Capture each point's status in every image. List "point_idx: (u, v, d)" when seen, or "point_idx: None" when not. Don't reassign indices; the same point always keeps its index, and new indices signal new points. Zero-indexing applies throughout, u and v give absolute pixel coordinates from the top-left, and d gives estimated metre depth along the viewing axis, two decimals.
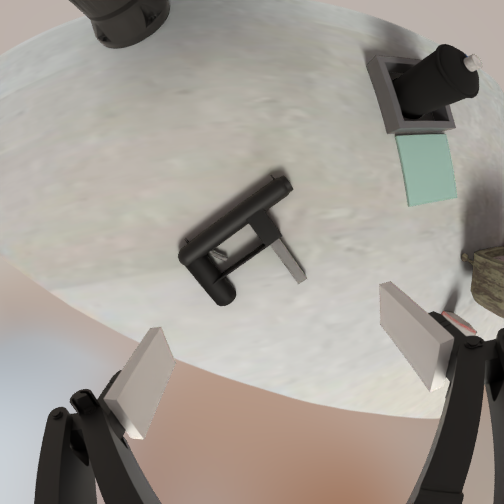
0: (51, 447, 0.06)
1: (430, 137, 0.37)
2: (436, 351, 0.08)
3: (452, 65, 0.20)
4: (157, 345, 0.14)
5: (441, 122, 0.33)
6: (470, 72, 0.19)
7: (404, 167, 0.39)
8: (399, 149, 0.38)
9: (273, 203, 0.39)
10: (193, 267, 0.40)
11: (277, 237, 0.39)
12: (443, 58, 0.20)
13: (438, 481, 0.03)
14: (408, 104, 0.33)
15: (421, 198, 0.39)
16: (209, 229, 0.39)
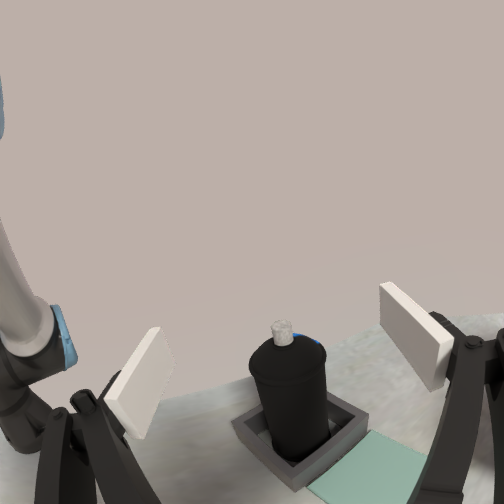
0: (51, 447, 0.06)
1: (354, 451, 0.26)
2: (436, 351, 0.08)
3: (265, 361, 0.25)
4: (157, 345, 0.14)
5: (346, 427, 0.27)
6: (290, 346, 0.26)
7: None
8: (320, 497, 0.21)
9: None
10: None
11: None
12: (255, 364, 0.26)
13: (438, 480, 0.03)
14: (292, 445, 0.26)
15: None
16: None
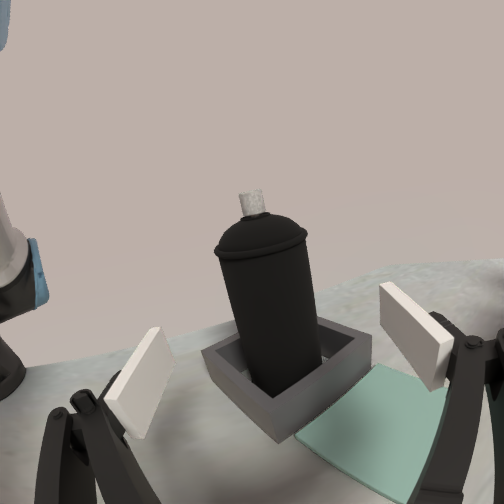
0: (51, 447, 0.06)
1: (357, 389, 0.23)
2: (436, 351, 0.08)
3: (231, 233, 0.22)
4: (157, 345, 0.14)
5: (343, 350, 0.23)
6: (261, 216, 0.22)
7: (342, 465, 0.15)
8: (313, 448, 0.17)
9: None
10: None
11: None
12: (220, 241, 0.23)
13: (439, 480, 0.03)
14: (273, 373, 0.23)
15: (418, 473, 0.11)
16: None
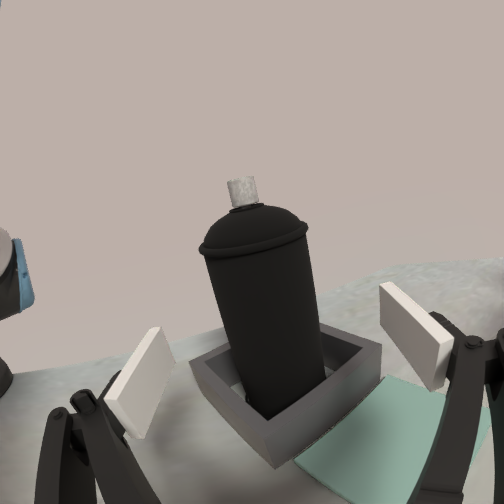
0: (51, 447, 0.06)
1: (365, 405, 0.19)
2: (436, 351, 0.08)
3: (218, 227, 0.19)
4: (157, 345, 0.14)
5: (350, 362, 0.20)
6: None
7: (348, 495, 0.11)
8: (315, 476, 0.14)
9: None
10: None
11: None
12: (205, 237, 0.19)
13: (439, 480, 0.03)
14: (269, 390, 0.20)
15: None
16: None
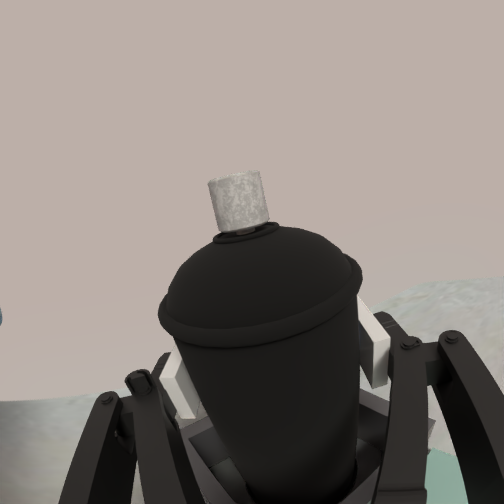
0: (93, 434, 0.07)
1: None
2: (372, 349, 0.10)
3: (189, 274, 0.09)
4: None
5: None
6: None
7: None
8: None
9: None
10: None
11: None
12: (168, 290, 0.10)
13: (396, 480, 0.04)
14: (279, 496, 0.10)
15: None
16: None
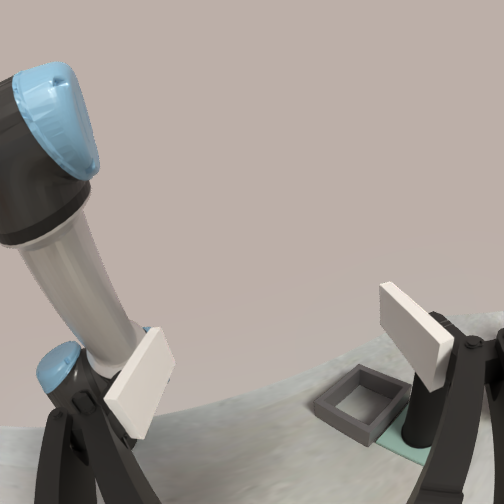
0: (51, 447, 0.06)
1: (403, 413, 0.36)
2: (436, 351, 0.08)
3: None
4: (157, 345, 0.14)
5: (398, 395, 0.37)
6: None
7: (401, 453, 0.28)
8: (386, 447, 0.31)
9: None
10: None
11: None
12: None
13: (438, 480, 0.03)
14: (430, 434, 0.26)
15: None
16: None
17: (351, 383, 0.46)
